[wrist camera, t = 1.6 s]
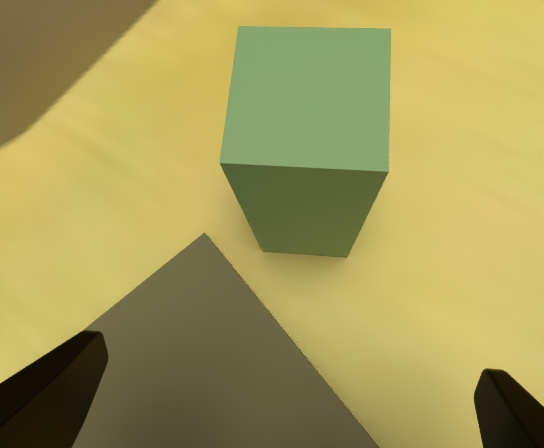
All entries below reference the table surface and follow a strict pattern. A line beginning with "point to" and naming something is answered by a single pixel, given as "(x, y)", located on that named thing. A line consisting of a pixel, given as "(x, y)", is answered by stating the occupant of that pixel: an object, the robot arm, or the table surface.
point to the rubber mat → (208, 369)
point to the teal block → (308, 133)
